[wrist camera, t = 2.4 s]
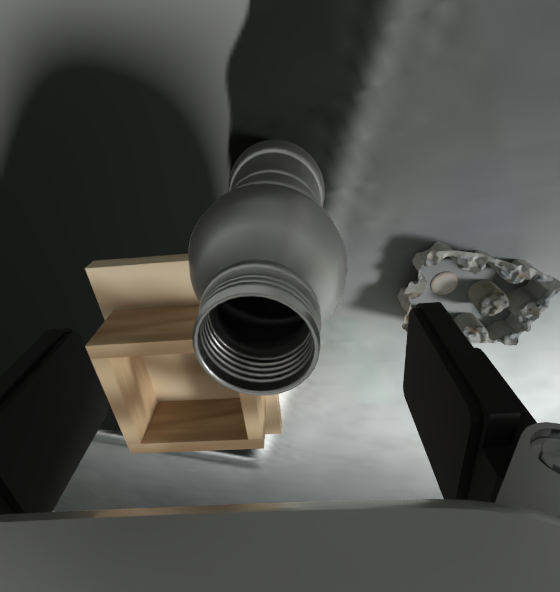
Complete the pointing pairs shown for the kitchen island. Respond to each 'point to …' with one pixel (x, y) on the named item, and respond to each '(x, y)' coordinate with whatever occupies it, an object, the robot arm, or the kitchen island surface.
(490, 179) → the kitchen island surface
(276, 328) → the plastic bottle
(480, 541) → the robot arm
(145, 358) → the tan wooden box
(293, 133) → the kitchen island surface
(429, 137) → the kitchen island surface
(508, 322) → the grey rocky tray
